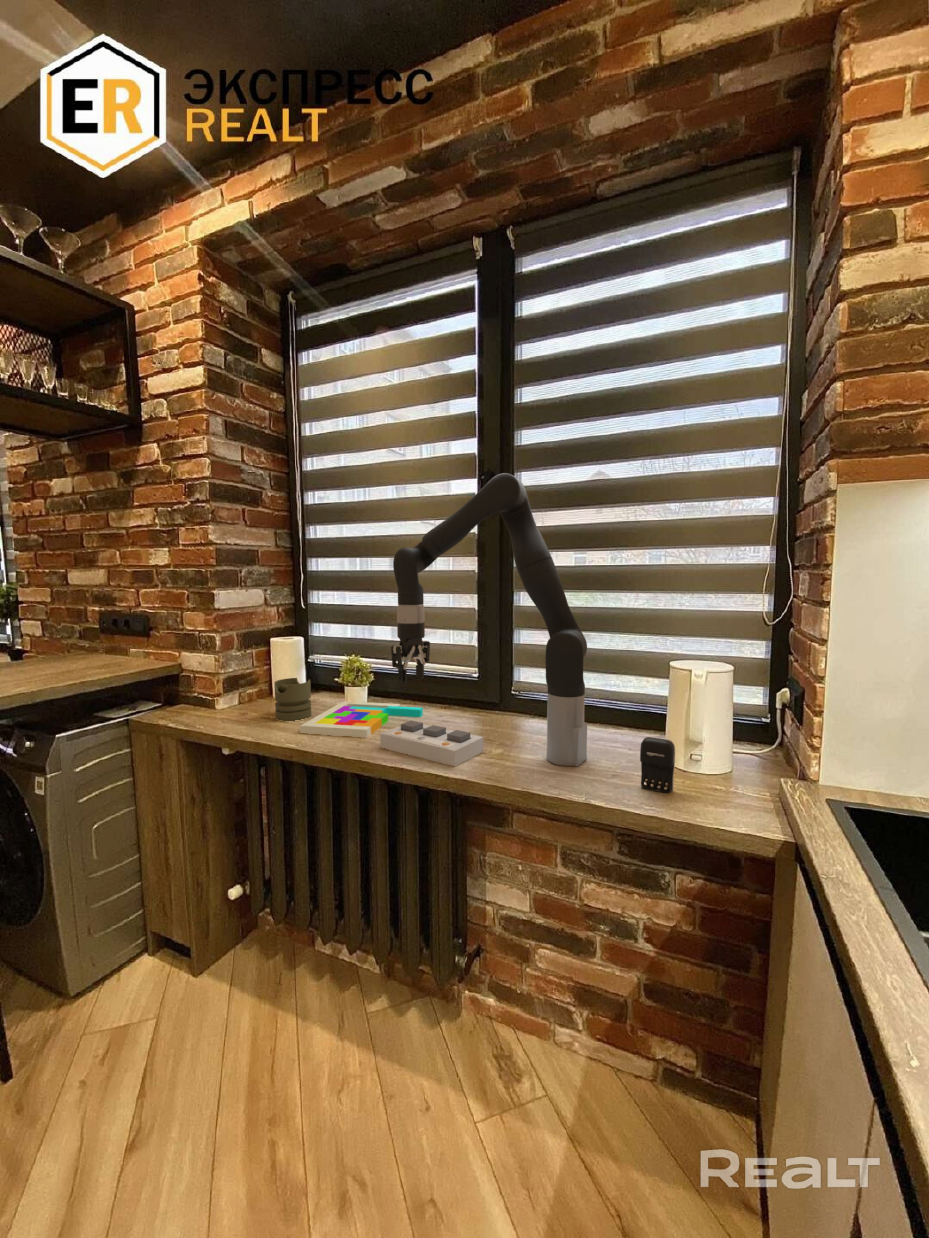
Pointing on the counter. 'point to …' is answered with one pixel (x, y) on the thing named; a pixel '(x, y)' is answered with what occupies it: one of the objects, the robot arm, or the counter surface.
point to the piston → (292, 699)
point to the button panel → (431, 746)
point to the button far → (412, 726)
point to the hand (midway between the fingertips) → (411, 680)
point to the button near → (458, 736)
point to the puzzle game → (356, 718)
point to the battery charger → (657, 764)
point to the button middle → (434, 731)
